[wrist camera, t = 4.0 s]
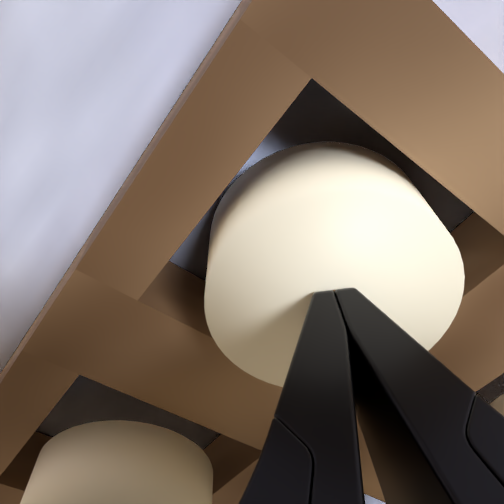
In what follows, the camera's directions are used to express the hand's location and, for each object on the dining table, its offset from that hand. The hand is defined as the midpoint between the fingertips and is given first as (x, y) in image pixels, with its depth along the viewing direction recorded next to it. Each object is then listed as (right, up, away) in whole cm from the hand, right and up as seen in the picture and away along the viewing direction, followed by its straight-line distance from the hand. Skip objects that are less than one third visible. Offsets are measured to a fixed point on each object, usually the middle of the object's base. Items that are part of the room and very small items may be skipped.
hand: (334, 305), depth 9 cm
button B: (0, +1, +2) cm, 2 cm away
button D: (-5, -6, +5) cm, 9 cm away
